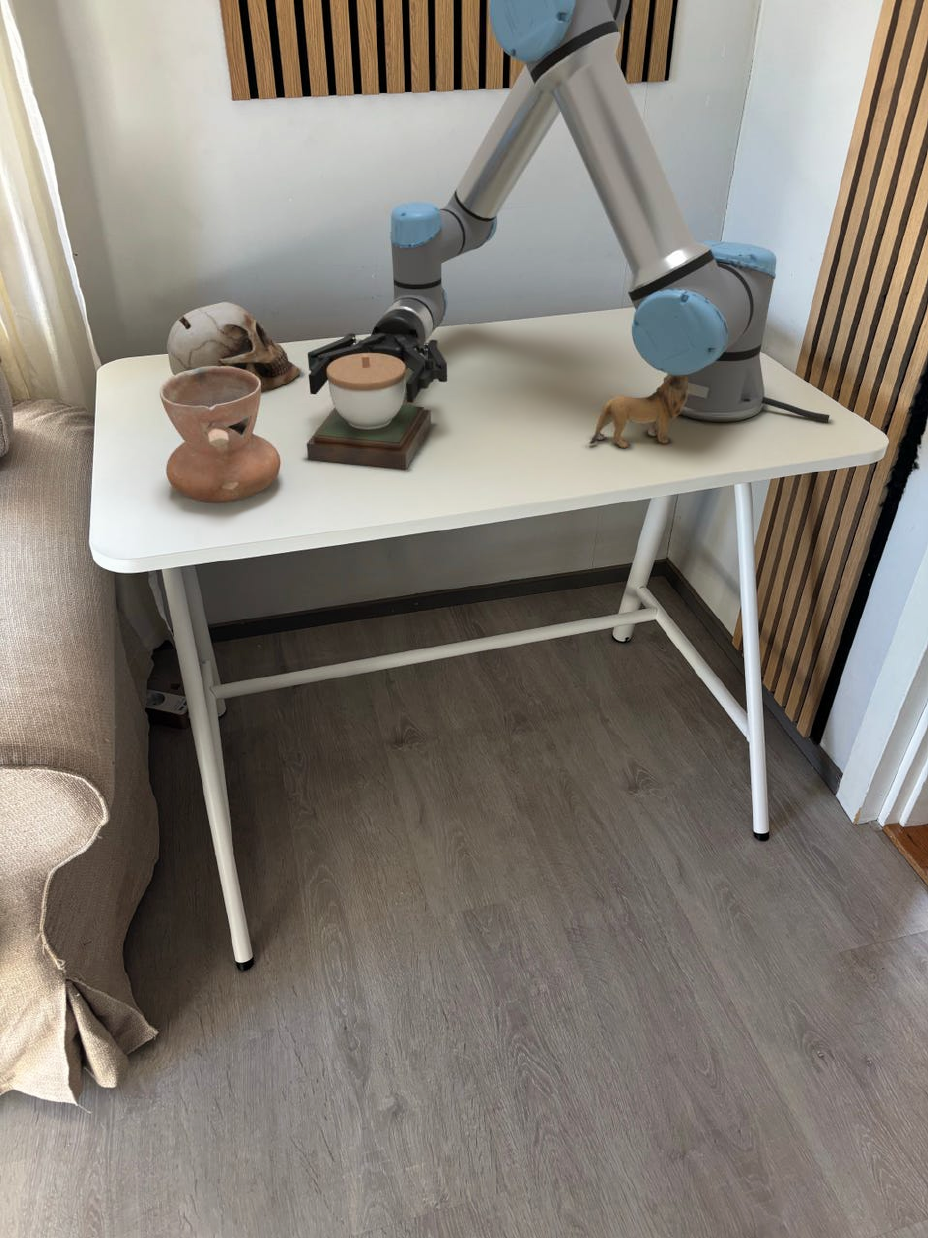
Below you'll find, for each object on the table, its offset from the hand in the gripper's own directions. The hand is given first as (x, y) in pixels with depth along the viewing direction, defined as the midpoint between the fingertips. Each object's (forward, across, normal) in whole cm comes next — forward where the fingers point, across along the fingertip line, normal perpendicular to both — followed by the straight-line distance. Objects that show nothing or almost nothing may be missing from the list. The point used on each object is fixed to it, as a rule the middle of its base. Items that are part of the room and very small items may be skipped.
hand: (360, 389), depth 129 cm
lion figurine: (-12, -37, -10) cm, 40 cm away
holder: (-3, 0, -9) cm, 10 cm away
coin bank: (-19, +27, -10) cm, 35 cm away
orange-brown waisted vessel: (+13, +15, -10) cm, 22 cm away
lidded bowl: (-3, 0, -6) cm, 7 cm away
